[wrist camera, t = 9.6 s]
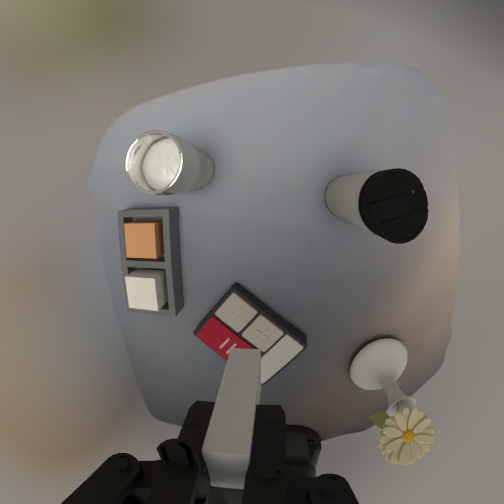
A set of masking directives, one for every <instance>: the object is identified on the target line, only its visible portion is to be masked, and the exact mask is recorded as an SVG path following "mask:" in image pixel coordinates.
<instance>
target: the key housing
mask: <svg viewBox="0 0 504 504" xmlns="http://www.w3.org/2000/svg"><path fill="white" fill-rule="evenodd" d="M136 220H163V239H164V254H163V255H161V256H160V257H158V258H157V259H153V258H128V257H127V255H126V244H125V230H124V224H125V223H129V222H132V221H136ZM118 226H119V241H120V252H121V262H122V271H123V279H124V287H125V294H126V301H127V307H128V311H132V312H140V313H148V314H157V315H166V316H177V314H178V313H179V312H180V310H181V309H182V308H183V306H184V304H183V292H182V278H181V263H180V243H179V213H178V207H164V208H133V209H125V210H120V211H118ZM136 269H145V270H164V271H165V277H166V288H167V299H168V301H167V302H166V303H165V304H164V305H163V306H162V308H161V309H160V310H159V311H152V310H143V309H135V308H129V303H128V296H127V289H126V282H125V276H127V275H128V274H130V273H131V272H133V271H134V270H136Z"/></svg>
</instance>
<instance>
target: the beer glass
mask: <svg viewBox="0 0 504 504" xmlns="http://www.w3.org/2000/svg"><path fill="white" fill-rule="evenodd" d="M125 173H126V176H127V179H128V181H129V182H130V184H131V185H132V186H133V187H134V188H135V189H136V190H137V191H139V192H141V193H144V194H149V195H173V194H178V193H181V192H183V191H185V190H187V189H189V190H198V189H201V188H203V187H204V186H206V185H207V184H208V183H209V182H210V180H211V179H212V176H213V173H214V165H213V162H212V160H211V158H210V157H209V156H208V155H207V154H206V153H205V152H203V151H199V150H197V149H196V148H195V147H194V146H193V145H192V144H191V143H190V142H189V141H187V140H186V139H184V138H182V137H180V136H178V135H175V134H172V133H168V132H165V131H161V130H152V131H148V132H146V133H144V134H142V135H140V136H139V137H138V138H136V139H135V140H134V142H133V143H132V144H131V146H130V147H129V149H128V151H127V154H126V158H125Z"/></svg>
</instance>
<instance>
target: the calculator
mask: <svg viewBox="0 0 504 504" xmlns="http://www.w3.org/2000/svg"><path fill="white" fill-rule="evenodd" d="M194 335H195V336H196V337H198V338H199V339H200V340H201V341H203V342H204V343H205V344H206V345H208V346H209V347H210V348H212V349H213V350H214V351H215V352H217V353H218V354H219V355H221V356H222V357H223V358H225V359H226V360H228V357H229V353H230V350H231V348H240V349H261V385H264V384H265V383H267V382H268V381H269V380H270V379H271V378H273V377H274V376H275V375H276V374H277V373H279V372H280V371H281V370H282V369H283V368H284V367H286V366H287V365H288V364H289V363H290V362H291V361H292V360H293V359H295V358H296V357H297V356H298V355H299V354H300V353H301V352H302V351H303V350H305V349H306V348H307V341H306V335H305V334H303V333H302V332H301V331H299V330H298V329H297V328H295V327H294V326H293V325H292V324H290V323H289V322H286V321H285V320H284V319H283V318H281V317H280V316H279V315H278V314H276V313H275V312H274V311H273V310H271V309H270V308H269V307H268V306H266V305H265V304H264V303H263V302H262V301H260V300H259V299H258V298H257V297H255V296H254V295H253V294H251V293H250V292H249V291H248V290H246V289H245V288H244V287H243V286H241V285H240V284H239V283H235V284H234V285H233V286H232V287H231V288H230V289H229V290H228V292H227V293H226V294H225V295H224V296H223V297H222V299H221V300H220V301H219V302H218V303H217V304H216V305H215V307H214V308H213V309H212V310H211V311H210V312H209V314H208V315H207V316H206V317H205V318H204V319H203V320H202V322H201V323H200V324H199V325H198V327H197V328H196V329H195V331H194Z"/></svg>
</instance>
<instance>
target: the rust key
mask: <svg viewBox="0 0 504 504" xmlns="http://www.w3.org/2000/svg"><path fill="white" fill-rule="evenodd" d="M124 230H125V244H126V255H127V257H128V258H153V259H157V258H158V257H160V256H161V255H163V254H164V239H163V220H136V221H132V222H129V223H125V224H124Z"/></svg>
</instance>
